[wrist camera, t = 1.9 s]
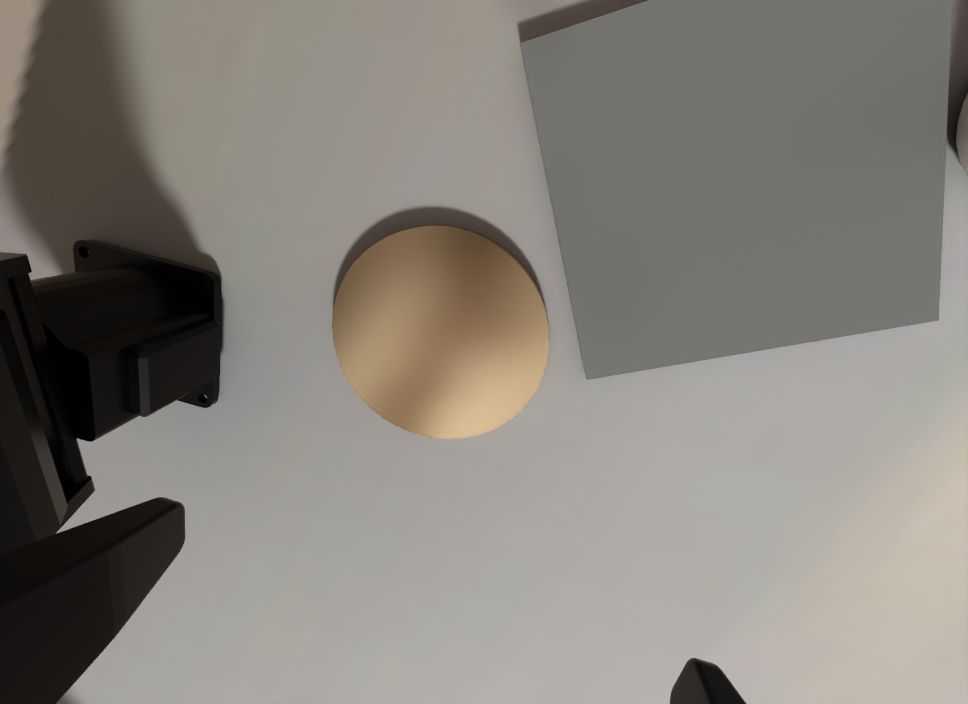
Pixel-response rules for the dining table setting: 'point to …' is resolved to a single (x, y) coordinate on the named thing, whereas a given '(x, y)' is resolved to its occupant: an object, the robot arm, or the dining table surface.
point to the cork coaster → (441, 331)
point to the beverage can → (963, 135)
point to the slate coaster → (744, 172)
